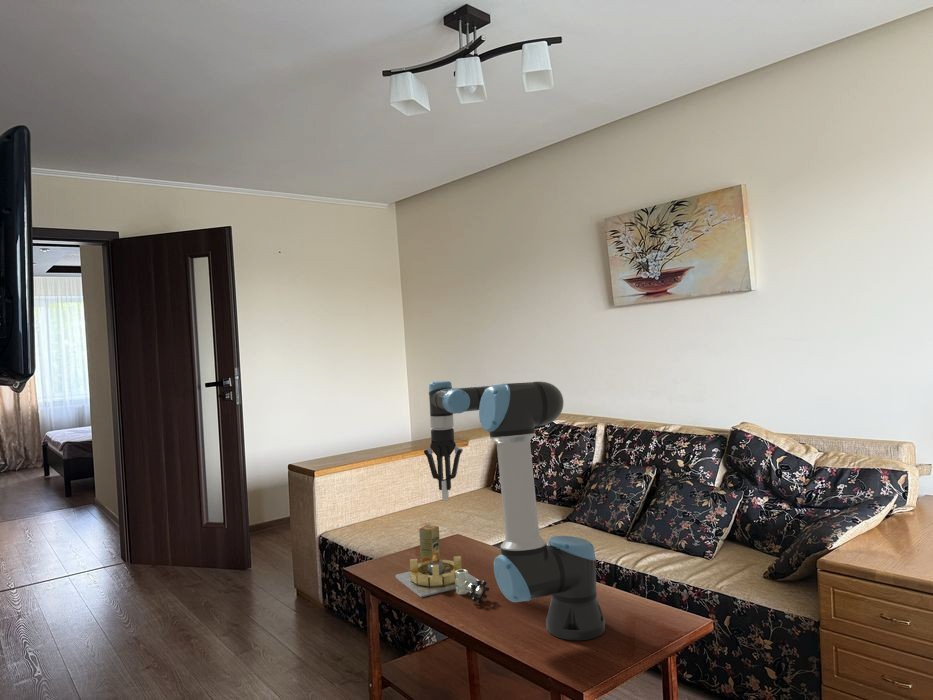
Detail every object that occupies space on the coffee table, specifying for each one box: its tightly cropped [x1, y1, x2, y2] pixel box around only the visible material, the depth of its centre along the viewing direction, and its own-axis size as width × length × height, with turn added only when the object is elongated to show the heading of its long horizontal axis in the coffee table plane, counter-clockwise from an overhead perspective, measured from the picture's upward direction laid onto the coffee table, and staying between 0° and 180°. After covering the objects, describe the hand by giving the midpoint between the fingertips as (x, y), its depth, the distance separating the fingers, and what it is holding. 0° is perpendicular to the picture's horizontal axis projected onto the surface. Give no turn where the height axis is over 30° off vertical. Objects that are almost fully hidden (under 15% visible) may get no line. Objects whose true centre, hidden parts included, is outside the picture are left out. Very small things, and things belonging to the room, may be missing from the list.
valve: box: [455, 568, 490, 604], centre depth 192 cm, size 7×7×12 cm
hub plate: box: [395, 562, 478, 598], centre depth 206 cm, size 20×20×5 cm
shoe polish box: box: [418, 524, 441, 563], centre depth 223 cm, size 5×5×12 cm
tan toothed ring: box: [409, 550, 463, 586], centre depth 206 cm, size 16×16×6 cm
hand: (445, 499), depth 211 cm, fingers closed
